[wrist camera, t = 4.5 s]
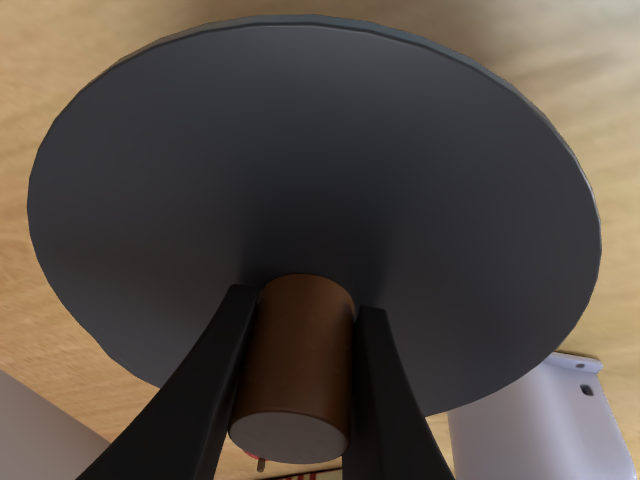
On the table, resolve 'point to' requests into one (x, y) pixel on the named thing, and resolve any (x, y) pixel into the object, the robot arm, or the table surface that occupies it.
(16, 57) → the table surface
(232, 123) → the lid
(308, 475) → the gift box
